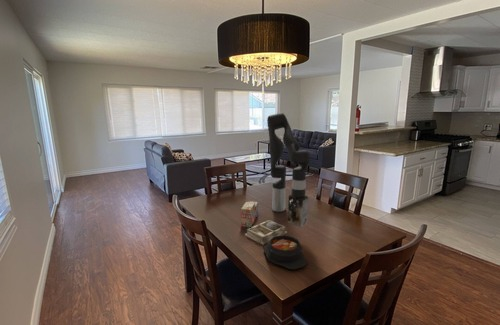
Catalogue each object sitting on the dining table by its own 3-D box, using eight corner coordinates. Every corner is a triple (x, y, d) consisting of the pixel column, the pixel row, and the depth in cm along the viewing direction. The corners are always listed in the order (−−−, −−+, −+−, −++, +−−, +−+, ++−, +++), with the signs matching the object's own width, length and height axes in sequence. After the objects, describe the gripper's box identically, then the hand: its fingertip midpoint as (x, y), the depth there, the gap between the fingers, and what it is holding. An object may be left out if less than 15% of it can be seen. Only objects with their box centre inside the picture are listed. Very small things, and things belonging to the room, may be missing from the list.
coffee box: (287, 222, 144) (288, 195, 140) (293, 219, 148) (294, 192, 145) (301, 227, 138) (302, 199, 134) (307, 223, 142) (308, 196, 139)
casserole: (255, 251, 133) (255, 236, 131) (283, 241, 142) (283, 228, 140) (285, 278, 112) (286, 260, 110) (316, 264, 121) (317, 248, 120)
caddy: (268, 224, 163) (268, 217, 162) (286, 233, 152) (287, 225, 151) (245, 235, 150) (245, 227, 149) (263, 245, 139) (263, 236, 138)
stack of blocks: (249, 213, 181) (249, 197, 179) (258, 214, 180) (258, 197, 177) (241, 226, 161) (240, 208, 158) (250, 227, 159) (250, 209, 157)
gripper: (300, 182, 146) (299, 209, 149) (284, 188, 136) (284, 217, 140) (312, 185, 140) (310, 213, 144) (296, 191, 131) (295, 221, 134)
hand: (297, 215), depth 142 cm, fingers closed on coffee box, 6 cm apart
